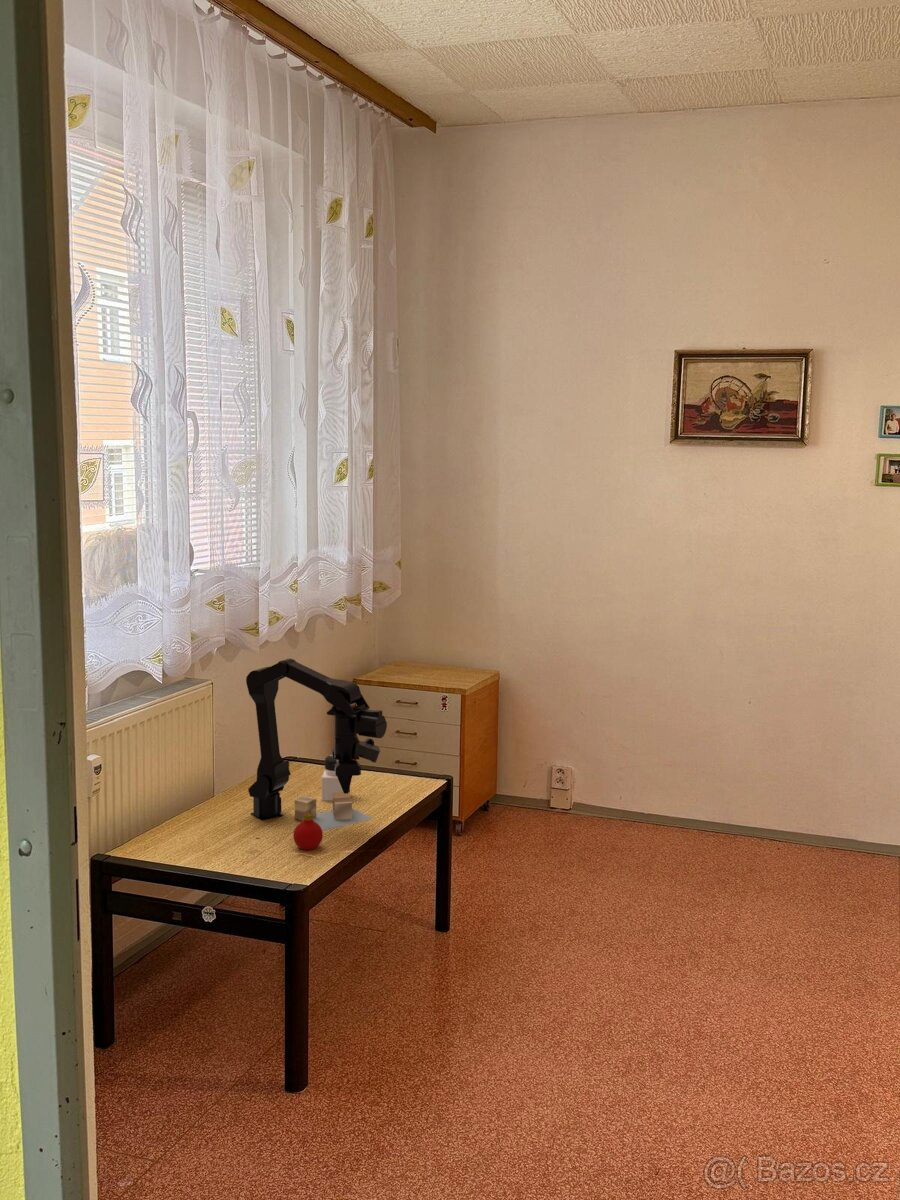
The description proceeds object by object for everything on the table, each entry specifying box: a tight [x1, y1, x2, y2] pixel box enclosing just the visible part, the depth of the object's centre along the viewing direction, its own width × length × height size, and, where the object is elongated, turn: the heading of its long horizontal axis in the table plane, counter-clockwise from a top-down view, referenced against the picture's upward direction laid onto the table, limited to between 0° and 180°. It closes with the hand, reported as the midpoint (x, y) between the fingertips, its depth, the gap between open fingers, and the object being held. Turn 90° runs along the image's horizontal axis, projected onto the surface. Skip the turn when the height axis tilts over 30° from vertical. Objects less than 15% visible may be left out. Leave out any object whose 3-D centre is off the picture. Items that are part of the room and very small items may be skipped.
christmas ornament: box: [293, 810, 324, 851], centre depth 276 cm, size 7×7×10 cm
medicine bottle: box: [321, 754, 351, 802], centre depth 315 cm, size 7×7×12 cm
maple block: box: [294, 795, 317, 822], centre depth 298 cm, size 4×4×5 cm
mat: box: [300, 808, 374, 832], centre depth 298 cm, size 16×12×1 cm
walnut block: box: [332, 791, 353, 820], centre depth 302 cm, size 4×4×9 cm
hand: (346, 793), depth 288 cm, fingers closed
